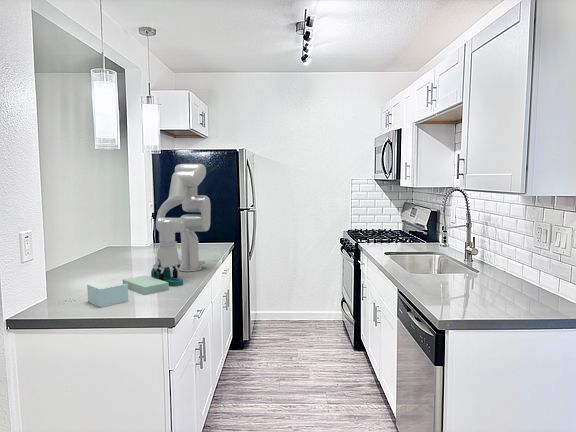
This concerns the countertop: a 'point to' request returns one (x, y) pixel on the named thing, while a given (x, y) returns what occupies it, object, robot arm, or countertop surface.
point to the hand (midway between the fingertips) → (168, 279)
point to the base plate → (146, 284)
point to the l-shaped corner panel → (107, 295)
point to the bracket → (167, 277)
